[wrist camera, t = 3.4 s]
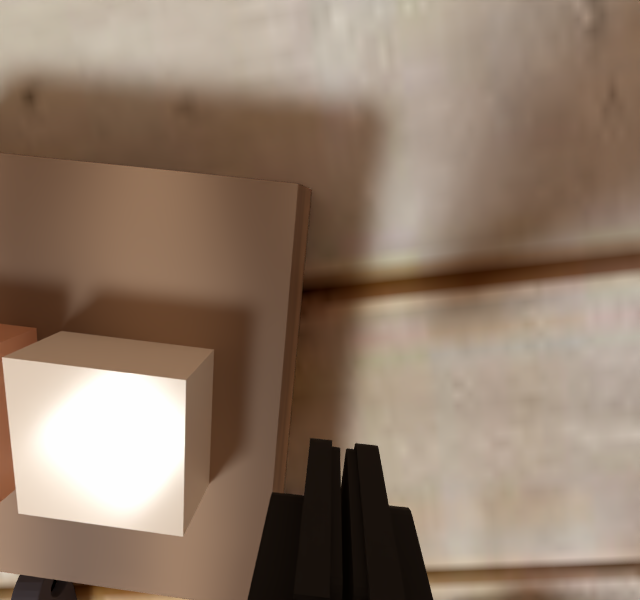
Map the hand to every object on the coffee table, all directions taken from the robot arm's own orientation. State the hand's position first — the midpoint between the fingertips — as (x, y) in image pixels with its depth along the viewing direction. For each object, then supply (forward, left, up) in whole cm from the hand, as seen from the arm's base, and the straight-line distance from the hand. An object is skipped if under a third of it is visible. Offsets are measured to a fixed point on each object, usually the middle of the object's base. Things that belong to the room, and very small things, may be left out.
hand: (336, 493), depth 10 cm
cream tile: (+6, 0, -2) cm, 6 cm away
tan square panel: (+8, 0, -6) cm, 10 cm away
